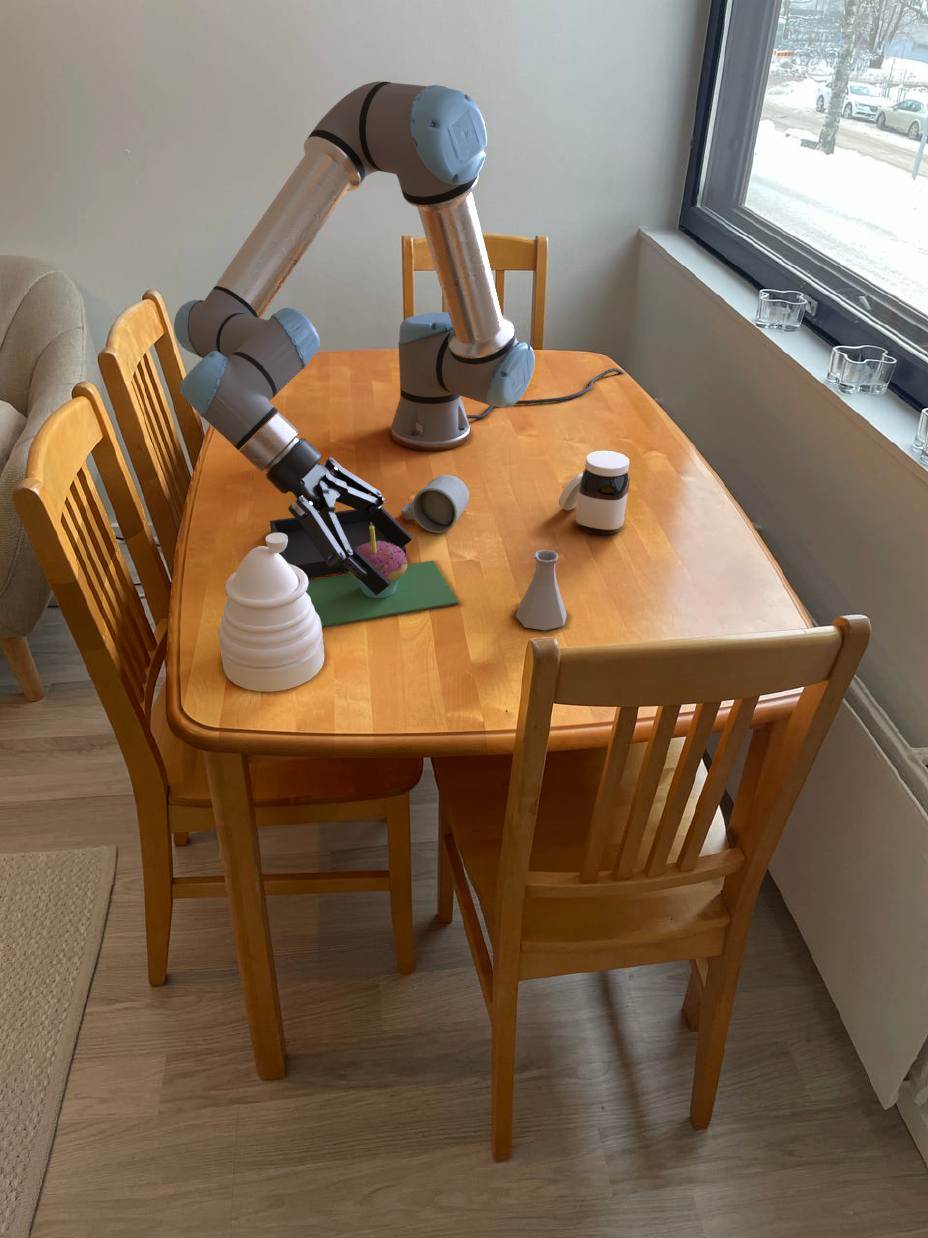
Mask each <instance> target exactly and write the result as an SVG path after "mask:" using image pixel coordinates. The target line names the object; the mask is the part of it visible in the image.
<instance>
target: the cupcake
mask: <svg viewBox="0 0 928 1238" xmlns="http://www.w3.org/2000/svg"><path fill="white" fill-rule="evenodd" d="M370 524H371V526H370V527H369V529H370V539H371V541H369V542H368V543H365V544H363V545H361V546H359V547H355V549H354V550H353V552H354V551H355V550H356V549H357V550H358V551H359V552H360V553H361V554H362V555H363V556H364V557H365V558H366V559H367V560H368V561H369V562H370V563H371V564H372V565H373V566H374V567H375V568H377V569H378V570H379V571H380V572H381V573H382V574H383V575H384V576H385V577H386V578H387V579H388V580H389V581H390V582H391V583H390V585H389V586H388V587H387V588H386V589H384V590H383V591H382V592H380V593H379V594H378V595H375V594H374V593H373V592H372V591H371V590H370V589H369V588H368V587H367V586H366V585H365V584H364V583H363V582H362V581H361V580H359V579H358V578H356V577H355V576H354V575H353V574H352V573H351V572H349V574H351V575H352V576H353V577H354V578H355V579H357V580H358V581H359V584H360V586H361V589H362V591H363V593H364V594H365V595H367V596H369V597H372V598H385V597H388V596H390V595H392V594H393V593H394V592H395V589H396V586H397V583H398V580H399V578H400V577H401V576H402V575H403V574H404V573H405V571H406V569H407V567H408V565H409V564H408V558H407V554H406V555H405V553H404V552H403V550H402V549H401V548H399V547H397V546H395V545H393V544H391V543H388V542H385V541H380V540H379V541H375V531H374V526H372V523H370Z"/></svg>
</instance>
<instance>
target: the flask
mask: <svg viewBox="0 0 928 1238" xmlns="http://www.w3.org/2000/svg"><path fill="white" fill-rule="evenodd" d="M533 558H534V560H535V570H534V572H533V577H532V579H531V581H530V583H529V585H528V587H527V590H526V592H525V594H524V595H523V598H522V599H521V601H520V603H519V606H518V608H517V611H516V614H515V618H516V619H517V620H518V621H519V622H520V623H521V624H522V626H523V627H524V628H527V629H535V630H540V631H549V630H553V629H557V628H561V627H564V626H565V624H566V620H567V616H568V614H567V610H566V608H565V607H566V606H565V604H564V601H563V598H562V595H561V592H560V588H559V584H558V581H557V575H556V564H557V561H558V558H559V554H558V553H557V552H555V550H551V549H540V550H536V551H535V554H534V557H533Z"/></svg>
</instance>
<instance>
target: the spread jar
mask: <svg viewBox="0 0 928 1238" xmlns="http://www.w3.org/2000/svg"><path fill="white" fill-rule="evenodd" d="M584 463H585V464H584V467H585V468H583V470H582V472H581V473H579V474H577V475H575V476H574V477H573V478H572V479H571V480H570V481H569V482H568V484H566V486H565V487H564V489H563V490H562V491H561V493H560V496H559V498H558V505H559V506H560V507H561V508H562V509H564V510H565V511H571V510H572V509H575V508H576V514H575V515H576V516H575V517H576V519H575V521H576V525H577V526H578V527H579V528H581V530H583V531H585V532H587V533H590V534H593V535H601V536H603V535H606V536H607V535H612V534H616V533H618V532H619V531H620V530H621V529H622V528H623V525H624V523H625V518H626V513H627V506H628V505H627V504H628V497H629V490H630V482H631V476H630V472H629V468H630V459H629V457H627V456H626V455H624V454H623V453H621V452H617V451H612V450H597V451H596V450H595V451H592V452H590V453H588V454H587V455H586V457H585V462H584Z"/></svg>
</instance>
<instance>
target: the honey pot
mask: <svg viewBox="0 0 928 1238" xmlns="http://www.w3.org/2000/svg"><path fill="white" fill-rule="evenodd" d="M287 542H288V536H287V535H286V534H284V533H272V534H271V533H270V534H268V535H266V537H265V543H266V545H267V546H264V545H260V546H257V547H254V548H252V549H251V550H249V552H248V553H246V555H245V556H244V558H243V559H242V560H241V562H240V564H239V566H238V568H237V570H236V571H234V572H233V573H232V574H231V575H230V576H229V577H228V578H227V580H226V582H225V585H224V588H225V594H226V595H227V600H226V601H225V603H224V606H223V614H222V616H221V623H220V625H219V627H218V641H219V648H220V655H221V661H222V667H223V672H224V674H225V675H226V678H227V679H228V680H230V681H231V682H232V683H233V684H234V685H236V686H238V687H241V688H243V689H245V690H249V691H255V692H268V693H269V692H270V693H271V692H279V691H280V692H281V691H287V690H289V689H293V688H296V687H299V686H301V685H302V684H305V683H307V682H309V681H310V680H311V679H313V678H314V677H316V675H317V674H319V672H320V671H321V669H322V668H323V665H324V661H325V646H324V637H323V636H324V635H323V627H322V625H321V620H320V617H319V615H318V614H317V613H316V611H315V608H314V606H313V605H312V603H311V598H310V597H309V595H308V594H307V593H306V590H307V587H308V583H309V582H308V580H309V578H307V575H306V574H305V573H304V572H303V571H302V570H301V569H299V568H298V567H296V566H294V565H291V564H288V563H287V562H286V561H285V560H284V558H283V557H282V556H281V555H280V554H279V553H280V552H282V551H284V549H285V548H286V546H287ZM297 577H298V578H297Z"/></svg>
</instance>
